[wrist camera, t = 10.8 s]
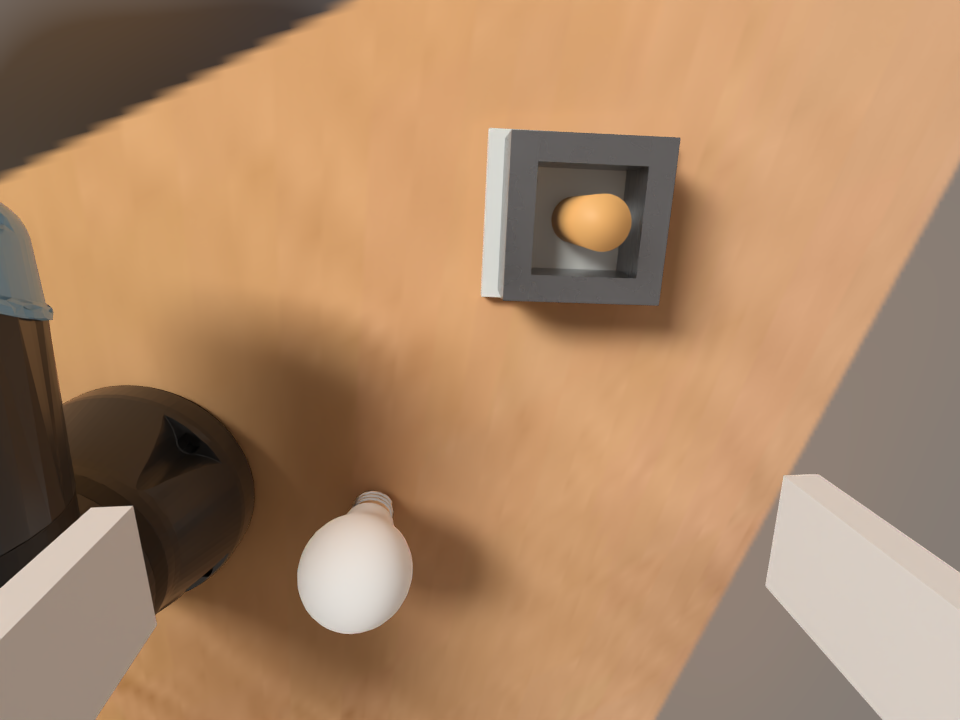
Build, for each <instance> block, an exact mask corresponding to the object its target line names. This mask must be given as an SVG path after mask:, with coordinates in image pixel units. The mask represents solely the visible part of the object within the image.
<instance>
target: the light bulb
mask: <svg viewBox="0 0 960 720" xmlns="http://www.w3.org/2000/svg"><path fill="white" fill-rule="evenodd" d="M393 513H394V510H393V506H392V500H391V499H390V498H389V496H388V495H386V494H384V493H382V492H380V491H373V490H371V491H367V492H363V493H362V494H360V495H359V496H357V497H356V499H355V500H354V502H353V504H352V507H351V509H350V511H349V512H348V513H347V514H346V515H343V516H340V517H337V518H335V519H333V520H331V521H329V522H328V523H326V524H325V525H324V526H323V527H321V528H320V529H319V530H318V531H316V532H315V534H314V535H313V536H312V537H311V539H310V540H309V542H308V543H307V545H306V546H305V548H304V550H303V552H302V555H301V558H300V562H299V566H298V570H297V583H298V591H299V595H300V598H301V600H302V603H303V605H304V607H305V609H306V611H307V612H308V613H309V614H310V616H311V617H312V618H313V619H314V620H316V621H317V622H318V623H319V624H320V625H322V626H324V627H325V628H327V629H329V630H332V631H334V632H338V633H343V634H356V633H362V632H366V631H369V630H372V629H374V628H376V627H379V626H381V625H382V624H383V623H385V622H386V621H387V620H388V619H390V618H391V617H392V616H393V615H394V614H395V613H396V612H397V611H398V610H399V608H400V607H401V605H402V603H403V602H404V600H405V598H406V596H407V595H408V591H409V588H410V585H411V581H412V574H413V562H412V556H411V552H410V549H409V547H408V544H407V542H406V539H405V538H404V536H403V535H402V533H401V532H400V531H399V530H398V529H397V528H396V527H395V526H394V523H393V519H392V518H393Z"/></svg>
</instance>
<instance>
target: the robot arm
mask: <svg viewBox="0 0 960 720" xmlns="http://www.w3.org/2000/svg"><path fill="white" fill-rule="evenodd" d="M49 320H53V309H52V308H51V307H50V306H49V305H47V304H46V303H45V298H44V294H43V290H42V286H41V282H40V277H39V273H38V269H37V265H36V260H35V256H34V252H33V248H32V243H31V239H30V236H29V234H28V231H27V229H26V228H25V226H24V224H23V223H22V221H21V220H20V219H19V218H18V217H17V215H16V214H15V213H14V212H13V211H11V210H10V209H9V208H8V207H6V206H5V205H4V204H2V203H0V720H95V719H96V717H97V716H98V714H99V713H100V711H101V710H102V708H103V707H104V705H105V704H106V702H107V701H108V699H109V698H110V696H111V694H112V693H113V691H114V690H115V688H116V687H117V685H118V684H119V682H120V681H121V679H122V678H123V676H124V675H125V673H126V672H127V670H128V668H129V667H130V665H131V664H132V662H133V661H134V659H135V658H136V656H137V655H138V653H139V652H140V650H141V649H142V647H143V645H144V644H145V642H146V641H147V639H148V638H149V636H150V635H151V633H152V632H153V630H154V629H155V627H156V626H157V622H156V617H155V615H156V614H157V613H158V612H160V611H161V610H163V609H164V608H166V607H167V606H168V605H170V604H171V603H173V602H174V601H176V600H177V599H178V598H179V597H181V596H182V595H183V594H184V593H185V592H186V591H189V590H191V589H193V588H194V587H196V586H198V585H199V584H201V583H203V582H204V581H205V580H207V579H208V578H210V577H211V576H212V575H213V574H214V573H216V572H217V571H218V570H219V569H220V568H221V567H222V566H223V564H224V563H225V562H226V561H227V560H228V559H229V557H230V556H231V554H232V553H233V551H234V550H235V548H236V547H237V545H238V544H239V542H240V541H241V539H242V537H243V536H244V534H245V532H246V530H247V528H248V526H249V523H250V520H251V517H252V513H253V507H254V484H253V478H252V474H251V471H250V467H249V465H248V462H247V460H246V457H245V455H244V453H243V451H242V450H241V448H240V446H239V445H238V443H237V442H236V440H235V439H234V438H233V436H232V435H231V434H230V433H229V431H228V430H227V429H226V428H225V427H224V426H223V425H222V424H221V423H220V422H219V421H218V420H217V419H216V418H214V417H213V416H212V415H211V414H209V413H208V412H207V411H205V410H204V409H202V408H201V407H199V406H198V405H196V404H194V403H192V402H191V401H189V400H187V399H185V398H182V397H180V396H178V395H175V394H172V393H169V392H166V391H163V390H159V389H155V388H150V387H143V386H131V385H123V386H111V387H104V388H100V389H96V390H93V391H89V392H87V393H84V394H82V395H79V396H77V397H75V398H73V399H71V400H69V401H67V402H65V403H63V404H62V399H61V393H60V387H59V381H58V375H57V369H56V363H55V357H54V351H53V345H52V339H51V332H50V325H49ZM766 587H767V589H768V590H769V591H770V592H771V593H772V594H773V595H774V596H775V598H776V599H777V600H778V601H779V602H780V603H781V604H782V606H783V607H784V608H785V609H786V610H787V611H788V612H789V614H790V615H791V616H792V617H793V618H794V619H795V620H796V622H797V623H798V624H799V625H800V626H801V627H802V628H803V629H804V631H806V633H807V634H808V635H809V636H810V638H811V639H812V640H813V641H814V642H815V643H816V644H817V645H818V647H819V648H820V649H821V650H822V651H823V652H824V653H825V655H826V656H827V657H828V658H829V659H830V660H831V661H832V663H833V664H834V665H835V666H836V667H837V668H838V669H839V671H840V672H841V673H842V674H843V675H844V676H845V677H846V679H847V680H848V681H849V682H850V683H851V684H852V685H853V686H854V688H855V689H856V690H857V691H858V692H859V693H860V695H861V696H862V697H863V698H864V699H865V700H866V701H867V702H868V703H869V705H870V706H871V707H872V708H873V709H874V710H875V712H876V713H877V714H878V715H879V716H880V717H881V718H882V720H960V572H958V571H957V570H955V569H954V568H952V567H951V566H949V565H948V564H947V563H945V562H944V561H942V560H941V559H939V558H938V557H937V556H935V555H934V554H932V553H931V552H929V551H928V550H927V549H925V548H924V547H922V546H921V545H919V544H918V543H916V542H915V541H913V540H912V539H911V538H909V537H908V536H906V535H905V534H903V533H902V532H901V531H899V530H898V529H896V528H895V527H893V526H892V525H890V524H889V523H887V522H886V521H885V520H883V519H882V518H880V517H879V516H878V515H876V514H875V513H873V512H872V511H870V510H869V509H868V508H866V507H865V506H863V505H862V504H860V503H859V502H857V501H856V500H855V499H853V498H852V497H850V496H849V495H847V494H846V493H845V492H843V491H842V490H840V489H839V488H837V487H836V486H834V485H833V484H832V483H830V482H829V481H827V480H826V479H824V478H823V477H822V476H820V475H819V474H807V475H785V476H784V477H783V483H782V489H781V495H780V501H779V507H778V513H777V519H776V525H775V531H774V537H773V544H772V549H771V555H770V561H769V567H768V573H767V579H766Z"/></svg>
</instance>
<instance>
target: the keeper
mask: <svg viewBox="0 0 960 720" xmlns="http://www.w3.org/2000/svg"><path fill="white" fill-rule="evenodd" d="M511 130H512V129H500V128H489V130H488V149H487V171H486V193H485V215H484V236H483V258H482V280H481V296H482V297H501V296H500V294H499V292H498V270H499V250H500V229H501V209H502V188H503V168H504V147H505V138H506V136H507V135H508V134H509V132H510V131H511ZM513 130H518V129H513ZM533 131H537V130H533ZM554 132H555V131H554ZM626 172H627V171H615V170H593V169H571V168H549V167H538V172H537V188H536V203H535V219H534V234H533V249H532V265H531V267H532V268H560V269H588V270H616V266H617V257H618V247H619V245H621V244H622V243H623V242H624V241H625V239H626V238H627V236H628V234H629V232H630V229H631V222H632V219H631V213H630V210H629V208H628V206H627V205H626V203H625V202H624V201H623V200H624V191H625V182H626Z"/></svg>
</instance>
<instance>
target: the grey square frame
mask: <svg viewBox="0 0 960 720" xmlns="http://www.w3.org/2000/svg"><path fill="white" fill-rule="evenodd" d="M679 146H680V138H675V137H655V136H635V135H614V134H594V133H574V132H554V131H533V130H513V129H512V130H511V131H510V132H509V134H508V135H507V136H506V138H505V147H504V168H503V188H502V209H501V229H500V250H499V270H498V292H499V294H500V296H501V298H502V300H503V301H534V302H564V303H595V304H626V305H657V306H659V299H660V291H661V284H662V276H663V268H664V261H665V253H666V245H667V238H668V230H669V222H670V215H671V207H672V199H673V192H674V184H675V176H676V169H677V161H678V153H679ZM538 167H549V168H571V169H593V170H615V171H627V172H626V182H625V191H624V200H623V201H624V202H625V203H626V205H627V206H628V208H629V210H630V213H631V219H632V222H631V229H630V232H629V234H628V236H627V238H626V239H625V241H624V242H623V243H622V244H621V245H619V247H618V257H617V266H616V270H588V269H560V268H532V267H531V265H532V249H533V234H534V219H535V203H536V188H537V172H538Z"/></svg>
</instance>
